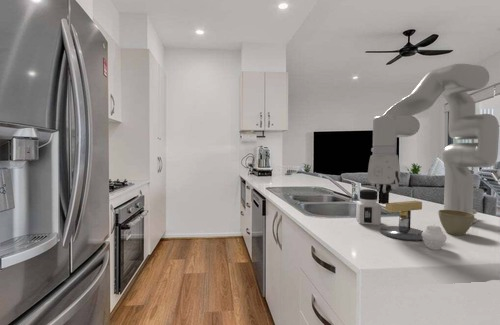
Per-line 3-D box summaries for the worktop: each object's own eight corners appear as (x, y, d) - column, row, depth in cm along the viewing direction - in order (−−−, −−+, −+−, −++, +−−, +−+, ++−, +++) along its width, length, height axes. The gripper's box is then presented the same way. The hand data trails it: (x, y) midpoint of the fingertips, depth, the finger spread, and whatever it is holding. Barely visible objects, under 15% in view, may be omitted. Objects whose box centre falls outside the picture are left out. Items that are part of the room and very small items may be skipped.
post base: (399, 227, 103) (399, 200, 103) (437, 237, 90) (438, 207, 90) (371, 231, 97) (372, 203, 97) (408, 243, 84) (409, 210, 84)
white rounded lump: (428, 251, 78) (429, 226, 77) (416, 244, 84) (417, 221, 83) (451, 252, 77) (452, 227, 77) (437, 244, 83) (438, 221, 83)
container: (380, 225, 105) (381, 191, 105) (359, 224, 107) (360, 190, 106) (375, 220, 113) (376, 188, 113) (355, 219, 115) (356, 188, 114)
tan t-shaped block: (385, 218, 92) (385, 203, 92) (415, 215, 97) (415, 200, 97) (391, 220, 90) (391, 204, 90) (421, 216, 95) (422, 201, 95)
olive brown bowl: (430, 230, 98) (431, 210, 98) (450, 228, 102) (451, 208, 102) (460, 239, 89) (461, 217, 89) (480, 235, 92) (481, 214, 92)
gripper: (359, 151, 102) (359, 200, 103) (395, 151, 88) (394, 208, 89) (374, 151, 105) (374, 199, 106) (411, 151, 92) (410, 206, 92)
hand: (383, 203), depth 98 cm, fingers closed
